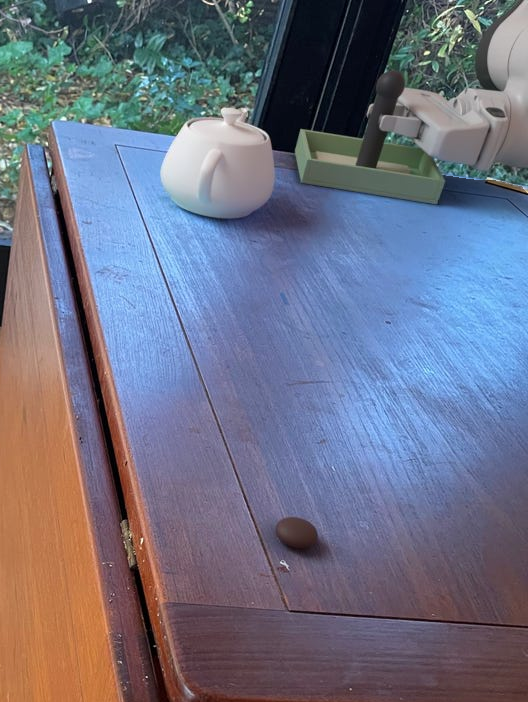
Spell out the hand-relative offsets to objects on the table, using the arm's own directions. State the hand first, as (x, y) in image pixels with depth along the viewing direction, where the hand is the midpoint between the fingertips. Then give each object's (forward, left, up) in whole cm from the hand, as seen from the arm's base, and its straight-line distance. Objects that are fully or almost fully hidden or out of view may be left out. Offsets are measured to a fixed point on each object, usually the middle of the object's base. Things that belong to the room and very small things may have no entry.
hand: (374, 116), depth 132 cm
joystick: (-1, 0, -7) cm, 7 cm away
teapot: (+20, +21, -8) cm, 30 cm away
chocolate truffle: (+14, +90, -8) cm, 91 cm away
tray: (-1, 0, -7) cm, 8 cm away
